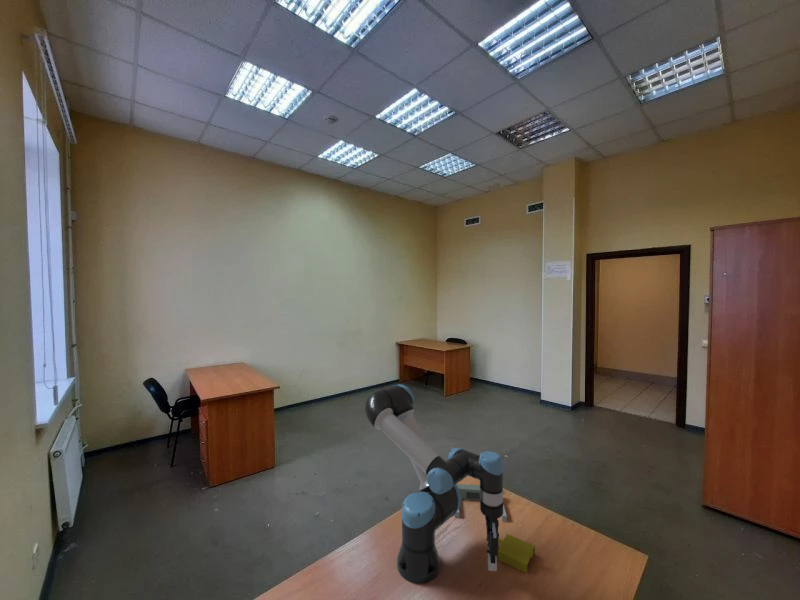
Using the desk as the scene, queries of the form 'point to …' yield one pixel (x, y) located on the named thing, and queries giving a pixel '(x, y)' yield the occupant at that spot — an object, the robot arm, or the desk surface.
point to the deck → (473, 496)
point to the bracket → (515, 552)
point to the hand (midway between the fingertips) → (492, 569)
